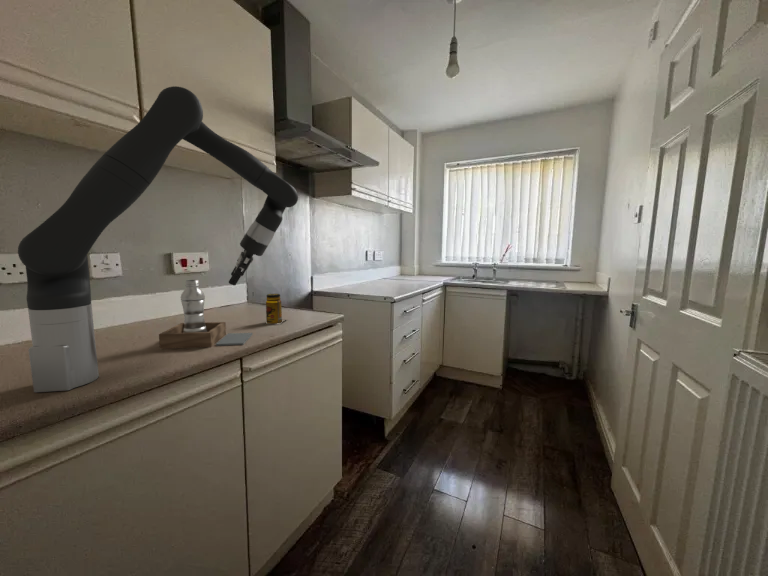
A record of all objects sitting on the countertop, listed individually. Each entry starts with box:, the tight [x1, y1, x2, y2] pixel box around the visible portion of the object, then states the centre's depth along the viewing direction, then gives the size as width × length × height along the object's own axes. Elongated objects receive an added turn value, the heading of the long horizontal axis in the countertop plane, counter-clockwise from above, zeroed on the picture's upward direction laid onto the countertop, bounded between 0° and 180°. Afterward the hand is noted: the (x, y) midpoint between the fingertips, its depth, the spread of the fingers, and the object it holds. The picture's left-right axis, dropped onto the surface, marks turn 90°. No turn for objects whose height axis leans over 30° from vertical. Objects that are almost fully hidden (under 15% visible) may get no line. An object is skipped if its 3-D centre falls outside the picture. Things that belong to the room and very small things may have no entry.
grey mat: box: [215, 332, 253, 347], centre depth 99 cm, size 12×8×1 cm, turn 11°
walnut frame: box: [158, 321, 227, 350], centre depth 96 cm, size 14×14×4 cm
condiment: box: [265, 293, 288, 325], centre depth 123 cm, size 7×8×12 cm
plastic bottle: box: [180, 279, 207, 333], centre depth 95 cm, size 6×7×20 cm
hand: (232, 279), depth 97 cm, fingers open, 8 cm apart
